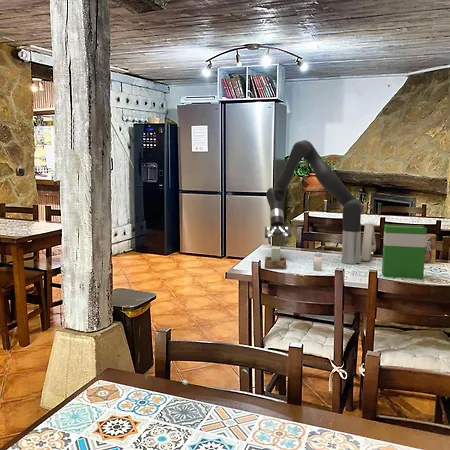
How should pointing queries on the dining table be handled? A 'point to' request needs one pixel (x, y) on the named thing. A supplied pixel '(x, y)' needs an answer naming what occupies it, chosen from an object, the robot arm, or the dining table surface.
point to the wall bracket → (368, 242)
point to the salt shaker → (318, 261)
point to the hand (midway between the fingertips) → (278, 243)
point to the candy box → (430, 248)
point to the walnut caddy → (275, 263)
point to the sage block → (275, 253)
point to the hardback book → (404, 251)
